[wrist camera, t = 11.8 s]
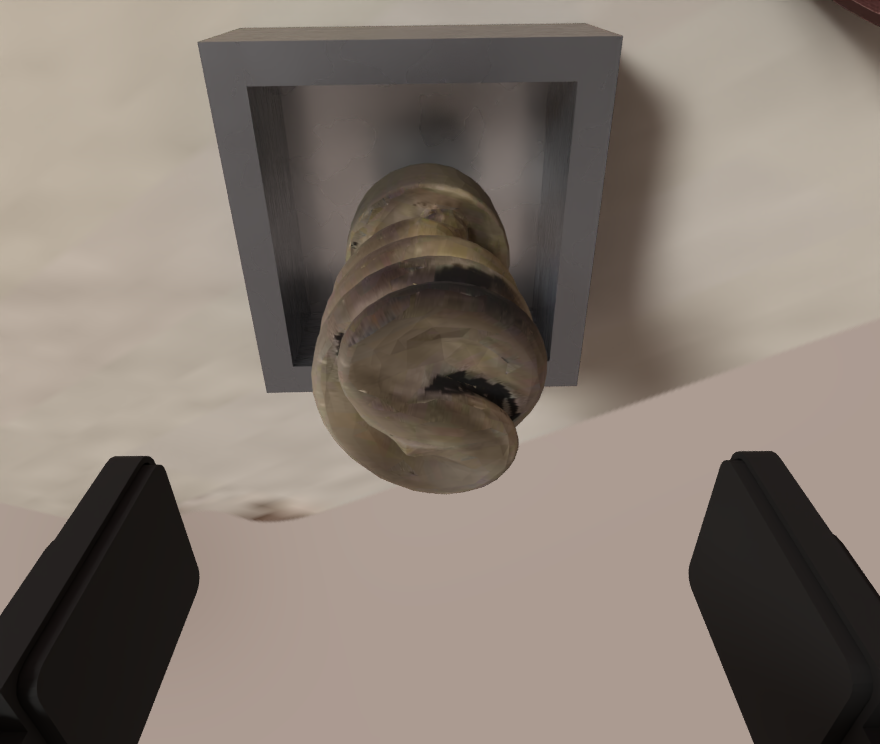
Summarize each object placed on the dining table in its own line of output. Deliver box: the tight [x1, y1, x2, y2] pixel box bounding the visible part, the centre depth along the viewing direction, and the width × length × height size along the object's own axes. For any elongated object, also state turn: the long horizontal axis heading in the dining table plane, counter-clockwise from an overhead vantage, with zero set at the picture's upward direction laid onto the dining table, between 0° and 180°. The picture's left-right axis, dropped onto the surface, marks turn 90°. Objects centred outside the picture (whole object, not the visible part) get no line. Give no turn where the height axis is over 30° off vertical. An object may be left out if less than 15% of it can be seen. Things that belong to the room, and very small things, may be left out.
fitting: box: [198, 23, 623, 393], centre depth 24 cm, size 12×12×5 cm
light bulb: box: [311, 163, 547, 494], centre depth 19 cm, size 6×6×15 cm
